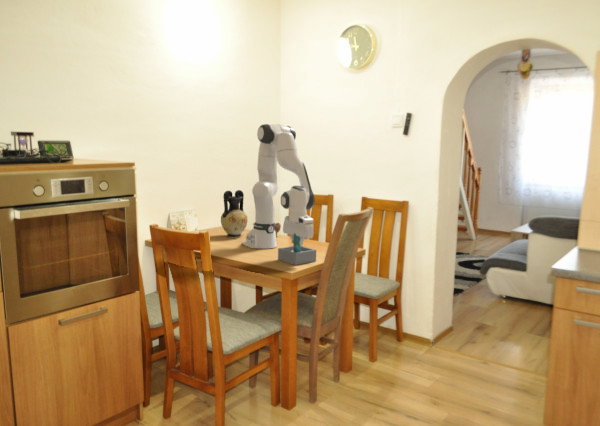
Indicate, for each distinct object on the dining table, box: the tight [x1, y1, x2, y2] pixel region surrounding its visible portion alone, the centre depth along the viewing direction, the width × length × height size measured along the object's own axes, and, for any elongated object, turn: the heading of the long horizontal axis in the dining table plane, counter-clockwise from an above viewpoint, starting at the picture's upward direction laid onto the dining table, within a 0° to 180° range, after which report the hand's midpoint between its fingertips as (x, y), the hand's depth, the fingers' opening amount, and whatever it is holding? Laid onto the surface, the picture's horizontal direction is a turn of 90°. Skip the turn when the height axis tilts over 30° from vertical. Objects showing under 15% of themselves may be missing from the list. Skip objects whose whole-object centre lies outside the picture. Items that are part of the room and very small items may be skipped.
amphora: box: [220, 189, 249, 239], centre depth 299 cm, size 18×17×30 cm
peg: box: [292, 233, 302, 253], centre depth 241 cm, size 4×4×12 cm
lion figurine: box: [274, 222, 282, 238], centre depth 302 cm, size 15×5×9 cm, turn 128°
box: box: [277, 245, 317, 266], centre depth 242 cm, size 14×14×6 cm
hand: (297, 244), depth 241 cm, fingers closed on peg, 4 cm apart
